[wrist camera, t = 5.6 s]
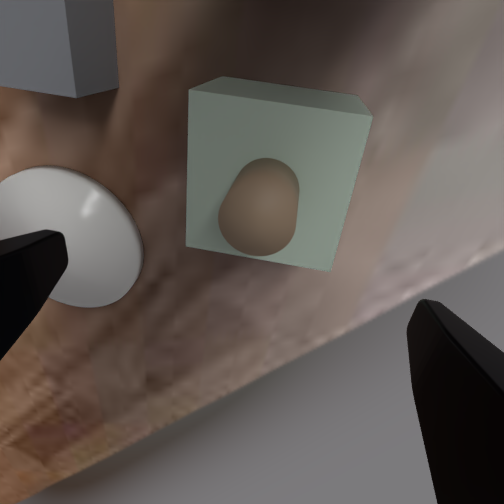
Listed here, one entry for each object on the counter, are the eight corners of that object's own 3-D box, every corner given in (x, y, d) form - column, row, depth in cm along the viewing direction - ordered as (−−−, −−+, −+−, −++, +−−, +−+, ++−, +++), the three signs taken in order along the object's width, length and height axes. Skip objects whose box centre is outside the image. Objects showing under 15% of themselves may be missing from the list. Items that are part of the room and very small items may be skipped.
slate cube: (113, -7, 17) (62, -18, 13) (119, 87, 19) (76, 98, 15) (32, -18, 17) (-39, -32, 14) (47, 76, 19) (-12, 84, 16)
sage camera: (357, 95, 17) (388, 136, 10) (327, 219, 21) (333, 316, 13) (222, 75, 18) (157, 102, 10) (214, 200, 21) (161, 284, 14)
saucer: (81, 138, 20) (71, 142, 20) (171, 277, 24) (166, 285, 24) (-31, 199, 24) (-44, 205, 23) (64, 312, 28) (56, 321, 27)
